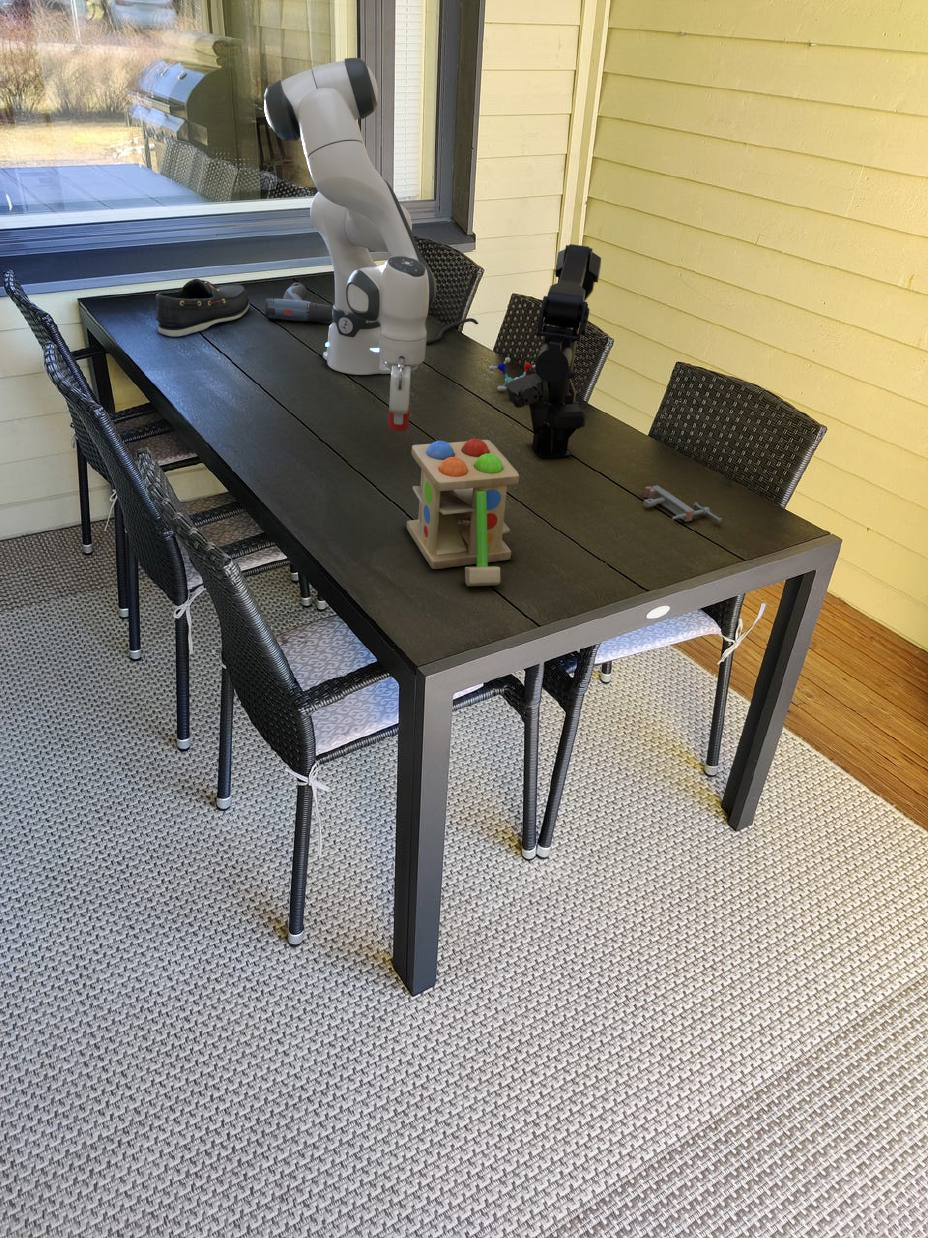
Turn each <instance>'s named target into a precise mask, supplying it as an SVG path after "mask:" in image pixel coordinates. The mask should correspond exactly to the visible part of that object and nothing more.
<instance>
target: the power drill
mask: <svg viewBox="0 0 928 1238" xmlns="http://www.w3.org/2000/svg"><path fill="white" fill-rule="evenodd" d="M307 295H308V290H307V287H306V285H304V284H303V283H301V282H293V283H292V284H291V285H290V286H289V287H288V288H287V289H286V291H285V292H284V294H283V297H282V298H266V299H265V302H264V313H265V314H264V316H265V318H267V319H274V320H275V319H276V320H283V321H294V322H295V321H297V322H332V321H333V314H332V311H333V305H331V304H324V303H317V302H313V301H307V300H305V299H306V297H307Z"/></svg>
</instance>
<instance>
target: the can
mask: <svg viewBox="0 0 928 1238" xmlns="http://www.w3.org/2000/svg"><path fill="white" fill-rule="evenodd" d="M410 408H411V406H410V405H409V410H408V413H407V414H404V416H403V424H401V425H399V424H394V413H391V412H390V410H389V409H388V424H387V425H388V429H390V430H391V431H395V432H404V431H407V430H408V429H409V423H410Z"/></svg>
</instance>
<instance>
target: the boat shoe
mask: <svg viewBox="0 0 928 1238" xmlns="http://www.w3.org/2000/svg"><path fill="white" fill-rule="evenodd" d="M155 299H156V317H155V320H156V321H157V322H158V324H157V326H158V332H159V333H160V334H161V335H163V336H167V337H183V336H187V335H189V334H190V335H191V334H193V333H197V332H200V331H204V330H206V329H208V328H209V327H210V326H212V325H214V324H218V323H222V322H228V321H234V320H237V319H239V318H241V317H242V316H244V315H245V314H246V313H247V312H248V310H249V308H250V299H249V295H248V292H247V290H246V289H245V287H244V286H243V285H242V284H239V283H231V284H226V285H221V286H217V287H216V286H215V284H214V283H212V282H210V281H208V280H205V279H200V278H193V279H191V280H189V281H187V282H185V284H184V285H183V286H182V287H181V289H180V290H176V291H170V292H169V291H168V292H167V291H165V292H159V293H157V294H156V295H155Z"/></svg>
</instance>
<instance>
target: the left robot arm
mask: <svg viewBox="0 0 928 1238" xmlns="http://www.w3.org/2000/svg"><path fill="white" fill-rule="evenodd" d="M263 97H264V104H263V105H264V106H263V108H264V114H265V117H266V121H267V123H268V125H269V127H270V128H271V129H272V131H273V132H274V133H275V134H276V136H277V137H278V138H279V139H281V140H283V141H287V142H288V141H289V142H290V141H291V142H292V141H299V140H300V139H301V145H302V149H303V153H304V156H305V160H306V163H307V167H308V171H309V173H310V174H309V175H310V177H311V179H312V182H313V184H314V186H315V188H316V189H317V193H316V194H315V195H314V196H313V198H312V201H311V203H310V208H309V215H310V217H309V218H310V220H311V224H312V225H313V228H314V229H315V230H316V231H317V232H318V234H319V235H320V237H321V238H322V240H323V242H324V244H325V246H326V249H327V252H328V254H329V257H330V260H331V264H332V269H333V276H334V278H333V279H334V303H333V305H332V307H333V311H332V314H333V320H332V323H331V324H330V325H329V326H328V336H327V342H325V347H327V348H326V351H324V352H323V353H322V358H323V359H324V360H326V362H327V363H326V365H327V366H328V367H329V368H330V369H332V370H334V371H336V372H339V373H341V374H342V373H343V374H347V375H356V376H369V375H379V374H380V375H389V374H390V380H389V381H390V382H389V385H390V386H389V402H388V411H389V410H390V412H391V413H394V424H399V425H401V424H403V416H404V414H407V413H408V410H409V406H410V397H411V395H410V393H411V379H412V376H411V375H412V372H413V371H415V370H418V368H419V364H422V363H424V362H425V360H426V351H427V349H426V348H427V345H429V344H433V343H436V342H439V341H440V340H441V339H442V337H443V334H444V333H445V332H446V331H448V330H449V329H452V328H455V327H457V326H460V325H463V324H466V323H473V324H474V325H479V321H478V320H477V319H475V318H472V317H468V318H464V319H461V320H458V321H455V322H452V323H450V324H448V325H446V326H444V327H443V328H442V329H440V331H439V332H438V335H437V336H436V337H434V338H430V339H428V340H427V336H428V333H427V332H428V331H427V328H426V327H427V326H426V321H427V317H428V314H429V310H430V308H431V307H432V305H433V304H434V302H435V299H436V296H437V289H438V288H437V287H438V286H437V281H436V278H435V275H434V273H433V272H432V269H431V268H430V266H429V265H428V263H427V261H426V260H425V258H424V257H423V254H422V253H421V250H420V248H419V245H418V244H417V243H418V242H417V241H416V238H415V237H414V234H413V232H412V229H413V224H412V217H411V215H410V213H409V210H407V208H406V207H404V206H403V205H402V204H401V203H400V201H399V199H398V197H397V195H396V193H395V191H394V189H393V188H392V186H391V185H390V183H389V182H388V181H387V180H386V179H384V177H382V176H381V175H380V173H379V172H378V171H377V169H376V168H375V166H374V165H373V163H372V161H371V160H370V158H369V155H368V151H367V148H366V145H365V142H364V138H363V135H362V132H361V129H360V125H359V122H358V120H359V119H361V120H364V119H366V118H367V117H369V116H370V115H372V114H373V113H374V112H375V111H376V108H377V107H378V98H379V89H378V83H377V80H376V77H375V74H374V73H373V71H372V69H370V67H369V66H368V65H367V62H366V61H365V60H364V59H362V58H360V57H346V58H344V59H343V60H341V61H334V62H333V61H332V62H328V63H323V64H320V65H315V66H312V67H311V68H310V69H306V70H304V71H301V72H299V73H296V74H294V75H292V76H289V77H287V78H285V79H283V80H281V79H279V80H277V81H275V82H273V83H271V84H270V85H268V86H267V87H266V89H265V92H264V95H263ZM369 250H372V251H375V252H384V253H388V254H389V256H390V257H389V258H388V259H387V260H386V261H384V262H383V263H381V264H378V265H377V263H376V262H375V261H374V260H373V258H372V255H371V254H370V251H369ZM409 411H410V410H409Z"/></svg>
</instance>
